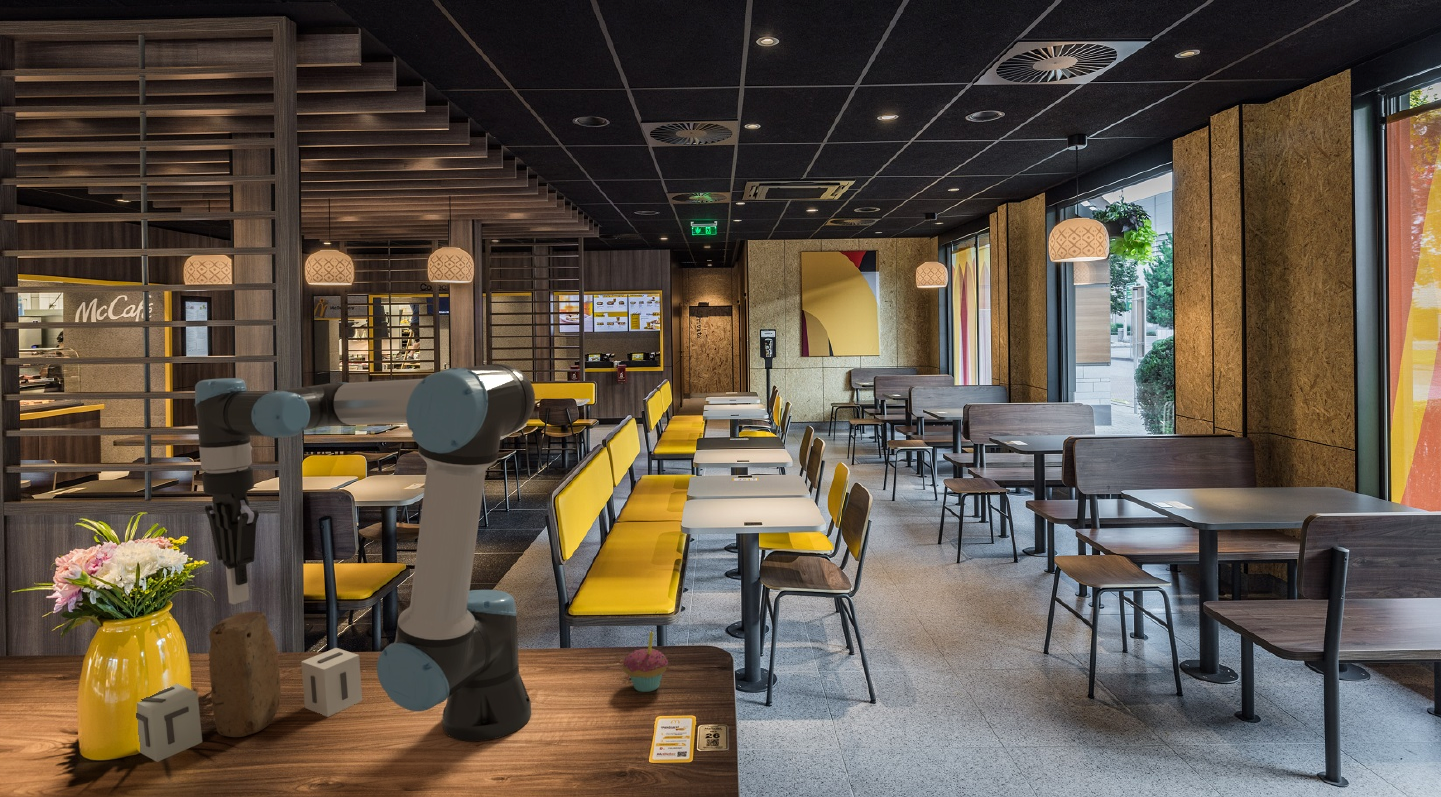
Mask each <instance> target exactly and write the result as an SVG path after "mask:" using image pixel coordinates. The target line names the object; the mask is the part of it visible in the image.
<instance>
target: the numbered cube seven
mask: <svg viewBox="0 0 1441 797" xmlns="http://www.w3.org/2000/svg"><path fill="white" fill-rule="evenodd" d="M174 684H175V685H173V684H172V685H173V686H171V685H170V686H171V687H170V688H167V689H164V690H162V691H159V692H158V693H156V694H154V695H152V696H150V697H146V698H144V699H141V700H142V701H140V702H137V713H136V718H137V720H138V735H139V742H140V752H139V753H140V754H142V755H143V756H146V757H147V758H149V759H152V761H155V762H157V763H158V762H160V761H163V760H165V759H167V758H170V757H172V756H174V755H177V754H178V753H181V752H183V751H186V750H188V749H190V748H194V747H195V746H197V745H200V744H201V743H203V735H202V728H201V727H202V725H201V715H200V706H199V705H200V704H199V696H198V691H195V690H193V689H192V688H188V687H186V686H184V685H181V684H179V683H174Z"/></svg>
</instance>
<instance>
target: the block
mask: <svg viewBox="0 0 1441 797" xmlns="http://www.w3.org/2000/svg"><path fill="white" fill-rule="evenodd" d="M208 638H209V641H210V647H209V650H208V662H209V663H208V664H209V665H208V666H209V681H210V682H209V683H210V688H211V689H210V691H211V692H210V694H211V697H210V698H211V703H212V713H213V718H214V722H215V726H216V731H217V733H218V734H219V735H220V736H225V737H230V738H243V737H246V736H249V735H253V734H256V733H258V732H261V731H263V730H264V729H265V728H267V727H268V726H270V724H271V722H272V721H273V720H274V718H275V716H276V714H277V712H278V709H279V705H280V704H281V703H280V702H281V694H282V693H281V692H282V691H281V690H282V689H281V688H282V687H281V674H280V662H279V655H278V654H279V653H278V649H277V645H276V641H275V637H274V635H273V634H272V631H271V630H270V629H269V624H268V619H267V615H266V614H265V613H264V612H261V611H258V610H256V611H245V612H235V613H234V614H232V615H230V616H229V617H227V618H224V619H222V620H220V621H219V622H218V623H217V624H215V625H214V626H213V628H212V629H210V631H209V633H208Z"/></svg>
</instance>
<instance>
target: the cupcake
mask: <svg viewBox="0 0 1441 797" xmlns="http://www.w3.org/2000/svg"><path fill="white" fill-rule="evenodd" d="M650 630H651V631H649V635H648V636H649V638H648V647H647V648H638V649H635V650H633V651H631V652H630V653H628V654H627V655H626V657H625V658H624V660H623V663H622V670H623V672H624V673H625V674H626V675H628V676H629V677H630V680H631V681H632V684H633V688H634V690H636V691H637V692H642V693H645V692H646V693H648V692H653V691H655V690H657V689H659V686H660V683H661V679H662V677H663V674H664V672H666V671H667V667H668V665H669V661H668V659H667V656H666V655H665V654H664V653H663V652H661V651H660V650H657V649H656V648H652V647H653V639H654V637H653V636H654V632H653V630H654V628H651V629H650Z"/></svg>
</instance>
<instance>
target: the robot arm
mask: <svg viewBox="0 0 1441 797" xmlns="http://www.w3.org/2000/svg"><path fill="white" fill-rule="evenodd" d="M194 395H195V396H194V400H195V402H194V407H195V414H196V423H197V433H198V442H199V446H198V448H199V459H200V460H199V461H200V469H202V470H203V471H204V472H203V473H202V475H201V476H202V488H203V493H204V494H206V495H208V496H212V499H211V500H212V503H211V504H208V505H205V506H204V510H205V514H206V516H207V518H208V523H209V527H210V530H211V536H212V537H211V538H212V542H213V545H214V550H215V554H216V559H217V560H218V561H222V565H223V566H225V572H226V574H225V575H226V582H227V583H226V584H227V595H228V603H229V604H230V605H236V604H239V603H244V602H247V601H249V600H250V591H249V590H250V589H249V580H248V578H249V577H248V569H247V568H248V567H247V565H248V564H250V563H254V562H255V555H256V554H255V553H256V552H255V551H256V531H257V530H256V529H257V521H258V518H259V510H257V509H256V510H251V509H250V507H249V506H250V501H249V498H248V495H247V493H248V491H252V489H253V488H254V486H255V480H254V469H253V468H252V467H251V464H252V463H253V462H252V461H253V458H252V451H253V447H252V445H251V437H265V438H272V439H279V438H280V439H281V438H291V437H292V438H293V437H295V436H298V435H300V434H301V433H302V432H303V431H307V430H312V429H317V428H323V427H330V426H331V427H332V426H349V425H371V424H372V425H375V424H376V425H378V424H380V425H382V424H407V427H408V430H409V431H411V432H412V434H411V437H412V438H413V440H414V441H415V442H416V443H417V445H418V449H417V450H418V452H417V454H418V456H420V457H421V459H422V460H424V461H425V463H426V471H425V472H426V474H425V479H424V480H425V482H424V489H423V499H422V506H421V513H420V523H419V530H418V539H417V547H416V553H415V555H416V556H415V563H414V571H413V580H412V589H411V597H410V604H409V606H408V607H407V608H405V609H404V610H403V611H402V612H400V614H399V615H398V619H397V627H396V633H395V639H394V642H391V643H390V644H388V645H387V646H385V648H384V649H383V650H382V651H381V652H380V654H379V655H378V658H377V662H376V673H377V678H378V682H379V684H380V686H381V688H382V689H383V691H384V692H385V693H386V694H387V697H389V699H390V700H391V701H392V702H394V703H395V704H396V705H397V706H399V707H401V708H403V709H404V710H407V711H411V712H426V711H428V710H430V709H432V708H434V707H436V706H437V705H439V704H442V703H443V702H445V701H446V704H445V706H444V708H443V712H442V717H441V718H442V728H443V732H444V733H445V734H446V735H447V736H448V737H450V738H453V739H455V740H459V741H465V742H479V741H480V742H482V741H490V740H495V739H498V738H499V739H500V738H502V737H505V736H508V735H510V734H513V733H515V732H516V731H518V730H520V729H522V728H523V727H525V725H526V724H527V723H528V722H529V721H530V719H531V717H532V702H531V698H530V696H529V694H528V691H527V689H526V686H525V683H524V681H523V679H522V676H521V674H520V664H519V642H518V626H517V622H518V621H517V616H518V613H517V608H516V602H515V598H514V597H513V595H511V594H510V593H508V592H507V591H504V590H503V591H502V590H495V589H475V590H474V589H472V590H470V588H471V583H472V574H473V566H474V560H475V553H476V544H477V539H478V538H477V537H478V530H479V521H480V515H481V508H482V502H483V500H482V499H483V492H484V486H485V479H486V470H487V469H489V468H490V467H492V466H493V465H494V464H495V463H496V462H497V461H498V458H499V450H500V443H501V439H502V438H501V437H505V436H507V435H510V434H513V433H515V432H517V431H519V430H520V429H521V428H523V427H524V426H525V425H526V424H527V423H528V421H529V420H530V418H531V417H532V415H533V412H534V409H535V406H536V405H535V404H536V393H535V390H534V386H533V384H532V383H531V381H530V379H529V377H528V376H527V375H525V373H524V372H523V371H522V370H520V369H518V368H517V367H515V366H512V365H509V364H504V363H490V364H484V365H474V366H466V367H458V366H457V367H450V368H447V369H443V370H441V371H438V372H434V373H432V374H429V375H427V376H426V377H424V378H415V379H411V378H410V379H397V380H396V379H394V380H378V381H377V380H375V381H362V382H361V381H360V382H359V381H358V382H347V381H346V382H342V381H339V382H338V381H336V382H329V383H324V384H318V385H310V386H301V387H292V388H285V389H277V390H267V391H261V390H259V391H248V388H247V384H246V381H245V380H244V379H242V378H239V377H233V378H232V377H231V378H230V377H229V378H228V377H226V378H225V377H224V378H212V379H210V378H209V379H202V380H200V381H198V382H197V383H195V385H194Z"/></svg>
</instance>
